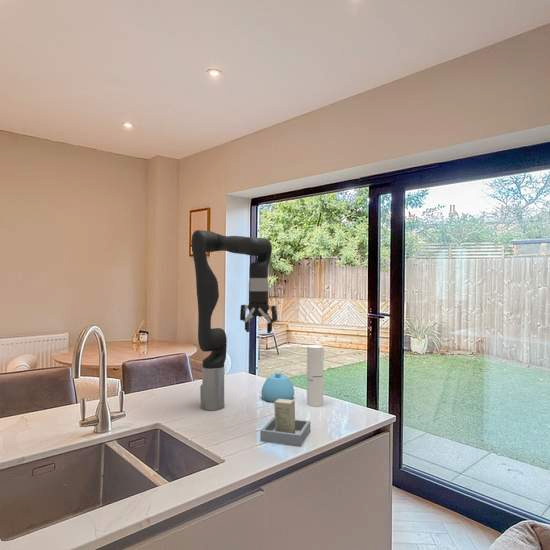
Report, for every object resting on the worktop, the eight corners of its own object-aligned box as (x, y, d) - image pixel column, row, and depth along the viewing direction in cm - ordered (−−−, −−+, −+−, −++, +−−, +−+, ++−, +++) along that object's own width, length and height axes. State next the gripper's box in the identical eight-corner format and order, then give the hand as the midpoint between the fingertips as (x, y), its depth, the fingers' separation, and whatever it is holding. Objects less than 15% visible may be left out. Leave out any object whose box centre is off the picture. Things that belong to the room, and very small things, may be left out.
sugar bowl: (255, 400, 183) (255, 374, 183) (269, 392, 197) (269, 367, 197) (287, 405, 177) (287, 378, 177) (298, 395, 191) (298, 370, 191)
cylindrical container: (322, 406, 175) (322, 348, 175) (306, 405, 176) (306, 347, 176) (324, 401, 182) (324, 345, 182) (308, 400, 183) (308, 344, 183)
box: (260, 440, 139) (260, 430, 139) (273, 426, 152) (273, 416, 152) (300, 446, 134) (300, 435, 134) (310, 430, 148) (310, 421, 148)
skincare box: (295, 434, 144) (295, 399, 144) (291, 439, 140) (291, 403, 140) (278, 432, 147) (278, 397, 147) (274, 436, 143) (274, 401, 143)
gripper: (237, 290, 156) (237, 332, 156) (273, 290, 151) (273, 334, 151) (244, 289, 163) (244, 330, 163) (279, 289, 158) (279, 331, 158)
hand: (258, 332), depth 157 cm, fingers open, 8 cm apart
